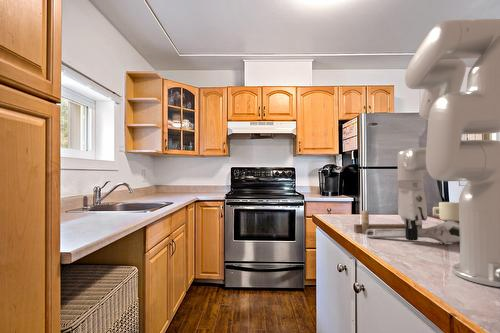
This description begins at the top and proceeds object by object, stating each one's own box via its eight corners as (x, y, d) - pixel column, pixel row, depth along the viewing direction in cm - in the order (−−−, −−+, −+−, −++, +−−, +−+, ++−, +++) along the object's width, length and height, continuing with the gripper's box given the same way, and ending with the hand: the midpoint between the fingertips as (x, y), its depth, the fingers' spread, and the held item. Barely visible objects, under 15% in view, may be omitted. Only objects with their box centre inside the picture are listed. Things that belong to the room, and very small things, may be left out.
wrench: (366, 245, 100) (467, 245, 88) (366, 243, 99) (468, 243, 87) (365, 225, 105) (460, 223, 93) (364, 222, 104) (461, 220, 91)
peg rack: (426, 234, 106) (426, 211, 106) (359, 234, 106) (358, 211, 107) (418, 231, 111) (418, 209, 111) (354, 231, 112) (353, 209, 112)
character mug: (472, 241, 94) (470, 203, 96) (473, 243, 88) (471, 202, 90) (434, 238, 101) (433, 202, 102) (433, 239, 95) (431, 201, 97)
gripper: (435, 187, 86) (437, 245, 86) (409, 184, 101) (410, 234, 101) (411, 187, 86) (412, 245, 86) (388, 185, 101) (389, 234, 101)
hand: (411, 239), depth 93 cm, fingers closed
